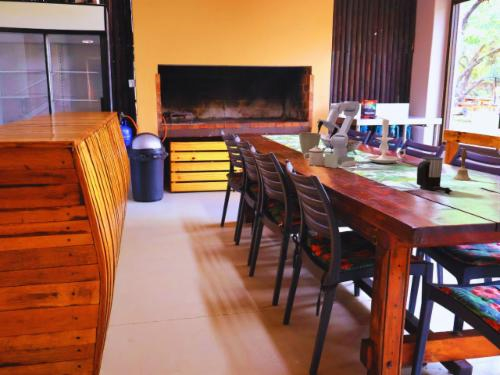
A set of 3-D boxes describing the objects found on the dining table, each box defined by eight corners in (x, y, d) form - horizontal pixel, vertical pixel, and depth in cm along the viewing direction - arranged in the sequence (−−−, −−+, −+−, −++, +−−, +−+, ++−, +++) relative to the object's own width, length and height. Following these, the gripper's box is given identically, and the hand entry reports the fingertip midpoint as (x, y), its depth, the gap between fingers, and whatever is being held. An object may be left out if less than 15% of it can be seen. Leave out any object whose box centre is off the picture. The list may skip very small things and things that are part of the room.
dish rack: (339, 162, 292) (340, 155, 291) (356, 164, 283) (356, 157, 282) (326, 164, 282) (326, 157, 282) (342, 167, 274) (343, 159, 273)
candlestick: (411, 165, 282) (415, 119, 276) (372, 165, 281) (375, 119, 275) (399, 160, 302) (402, 117, 296) (362, 160, 301) (364, 117, 295)
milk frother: (423, 186, 221) (426, 155, 218) (458, 190, 211) (461, 158, 208) (412, 190, 210) (415, 158, 207) (448, 195, 200) (451, 162, 197)
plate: (326, 166, 278) (327, 153, 276) (337, 167, 272) (337, 154, 270) (324, 166, 276) (324, 153, 275) (335, 168, 271) (335, 154, 269)
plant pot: (296, 158, 310) (296, 134, 307) (300, 155, 324) (301, 132, 321) (318, 159, 306) (319, 135, 302) (321, 156, 320) (322, 133, 316)
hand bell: (460, 181, 233) (464, 150, 229) (449, 178, 241) (452, 148, 237) (474, 180, 235) (477, 149, 232) (463, 177, 243) (466, 147, 239)
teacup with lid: (322, 163, 286) (323, 145, 284) (323, 166, 277) (324, 146, 275) (303, 163, 287) (304, 144, 285) (303, 165, 278) (304, 146, 276)
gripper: (322, 110, 280) (314, 126, 274) (344, 120, 279) (337, 136, 272) (319, 117, 286) (311, 133, 280) (340, 127, 285) (333, 143, 278)
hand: (324, 135), depth 276 cm, fingers open, 7 cm apart
